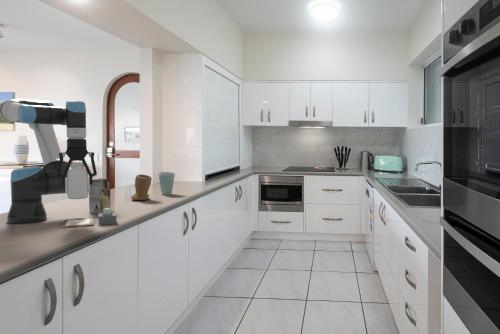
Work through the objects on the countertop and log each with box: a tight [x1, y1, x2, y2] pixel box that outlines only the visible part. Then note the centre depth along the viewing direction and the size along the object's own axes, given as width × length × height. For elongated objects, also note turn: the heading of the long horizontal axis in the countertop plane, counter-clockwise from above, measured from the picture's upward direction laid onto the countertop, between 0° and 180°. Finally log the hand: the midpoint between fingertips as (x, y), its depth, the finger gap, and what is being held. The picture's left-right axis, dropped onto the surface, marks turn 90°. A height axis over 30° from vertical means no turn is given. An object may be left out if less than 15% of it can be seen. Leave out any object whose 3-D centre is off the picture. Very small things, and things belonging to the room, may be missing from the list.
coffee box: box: [88, 178, 112, 214], centre depth 198 cm, size 9×6×16 cm
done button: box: [103, 208, 112, 216], centre depth 171 cm, size 3×3×4 cm
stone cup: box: [130, 174, 152, 201], centre depth 240 cm, size 15×12×15 cm
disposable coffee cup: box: [157, 171, 176, 196], centre depth 265 cm, size 11×11×15 cm
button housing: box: [98, 212, 117, 226], centre depth 172 cm, size 7×7×4 cm
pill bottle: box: [67, 161, 89, 200], centre depth 168 cm, size 8×8×15 cm
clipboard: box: [61, 217, 95, 229], centre depth 169 cm, size 12×14×1 cm
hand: (77, 192), depth 168 cm, fingers closed on pill bottle, 8 cm apart
